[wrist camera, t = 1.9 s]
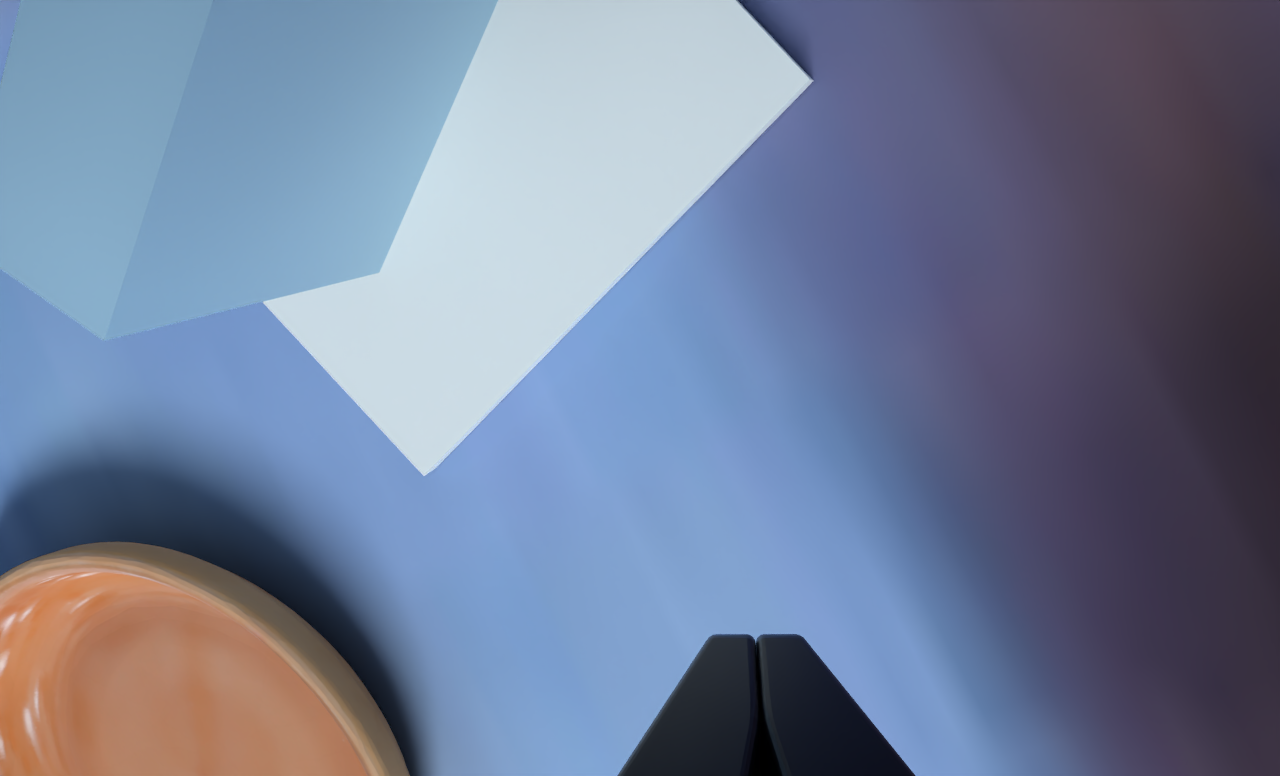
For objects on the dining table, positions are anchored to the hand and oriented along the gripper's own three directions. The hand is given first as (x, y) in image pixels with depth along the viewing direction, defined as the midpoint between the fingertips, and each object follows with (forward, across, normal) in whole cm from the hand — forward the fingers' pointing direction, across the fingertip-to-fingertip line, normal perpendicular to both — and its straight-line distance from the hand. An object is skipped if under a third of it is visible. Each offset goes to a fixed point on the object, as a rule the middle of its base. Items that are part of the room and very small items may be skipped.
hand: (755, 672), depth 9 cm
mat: (+15, +8, -4) cm, 17 cm away
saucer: (+15, +16, +15) cm, 26 cm away
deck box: (+14, +8, -4) cm, 17 cm away
